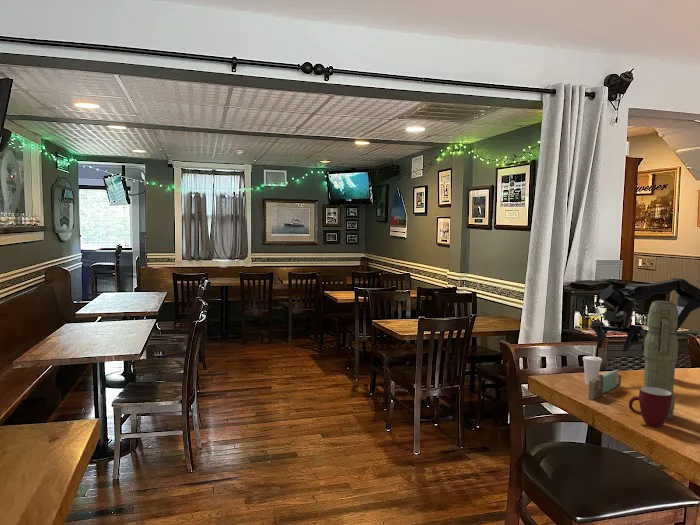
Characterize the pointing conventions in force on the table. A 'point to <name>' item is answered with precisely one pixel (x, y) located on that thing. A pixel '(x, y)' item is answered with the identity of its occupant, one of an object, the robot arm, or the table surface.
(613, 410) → the table surface
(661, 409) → the mug
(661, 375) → the thermos
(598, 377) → the brown block
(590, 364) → the smoothie
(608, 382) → the green block
